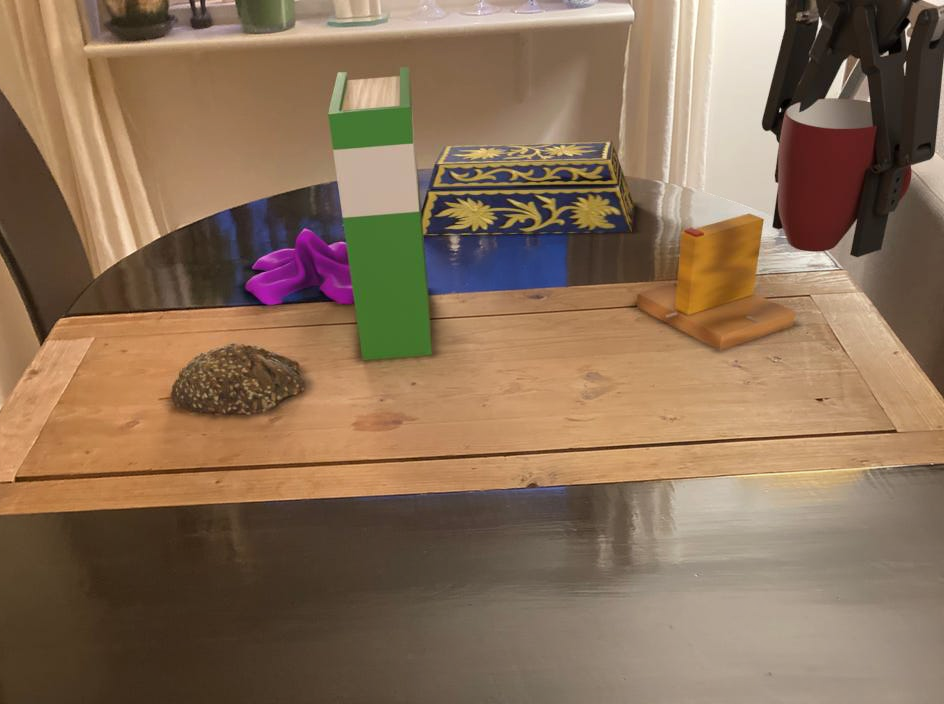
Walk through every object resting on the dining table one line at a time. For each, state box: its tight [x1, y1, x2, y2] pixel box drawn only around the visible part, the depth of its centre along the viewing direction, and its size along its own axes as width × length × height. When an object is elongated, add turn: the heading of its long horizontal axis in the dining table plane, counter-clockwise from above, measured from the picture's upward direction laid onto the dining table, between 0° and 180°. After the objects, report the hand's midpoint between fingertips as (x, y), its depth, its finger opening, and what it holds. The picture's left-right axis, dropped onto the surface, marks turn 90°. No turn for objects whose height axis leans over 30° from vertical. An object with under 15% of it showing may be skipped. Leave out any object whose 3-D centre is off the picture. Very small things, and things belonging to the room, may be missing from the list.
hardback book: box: [327, 66, 433, 361], centre depth 100 cm, size 18×7×24 cm, turn 3°
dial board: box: [636, 281, 796, 351], centre depth 104 cm, size 14×13×2 cm
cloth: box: [244, 228, 355, 306], centre depth 120 cm, size 22×19×6 cm
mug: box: [777, 97, 913, 253], centre depth 77 cm, size 11×8×10 cm
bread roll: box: [170, 342, 306, 416], centre depth 97 cm, size 13×12×5 cm
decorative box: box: [421, 141, 635, 236], centre depth 129 cm, size 11×30×9 cm, turn 82°
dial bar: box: [675, 213, 765, 315], centre depth 101 cm, size 9×2×8 cm, turn 119°
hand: (824, 237), depth 81 cm, fingers closed on mug, 8 cm apart
